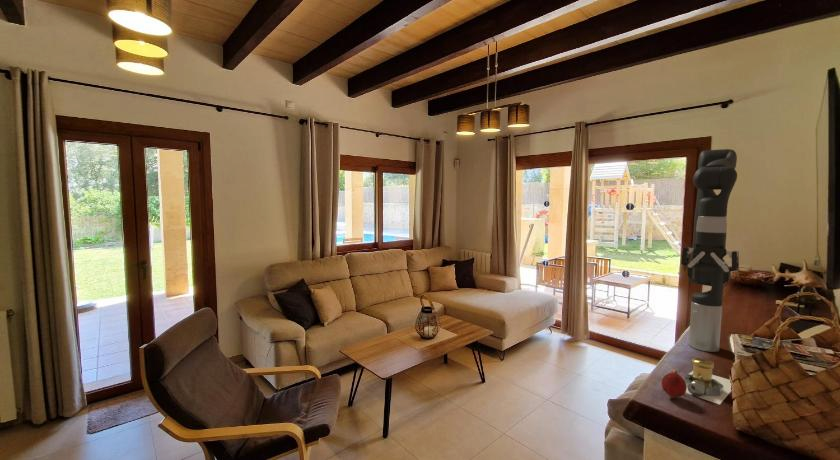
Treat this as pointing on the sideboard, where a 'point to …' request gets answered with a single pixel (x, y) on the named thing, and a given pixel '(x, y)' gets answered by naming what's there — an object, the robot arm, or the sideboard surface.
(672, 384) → the onion
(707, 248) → the robot arm
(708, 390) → the grey octagonal ring
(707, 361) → the knob
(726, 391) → the board
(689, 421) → the sideboard surface
